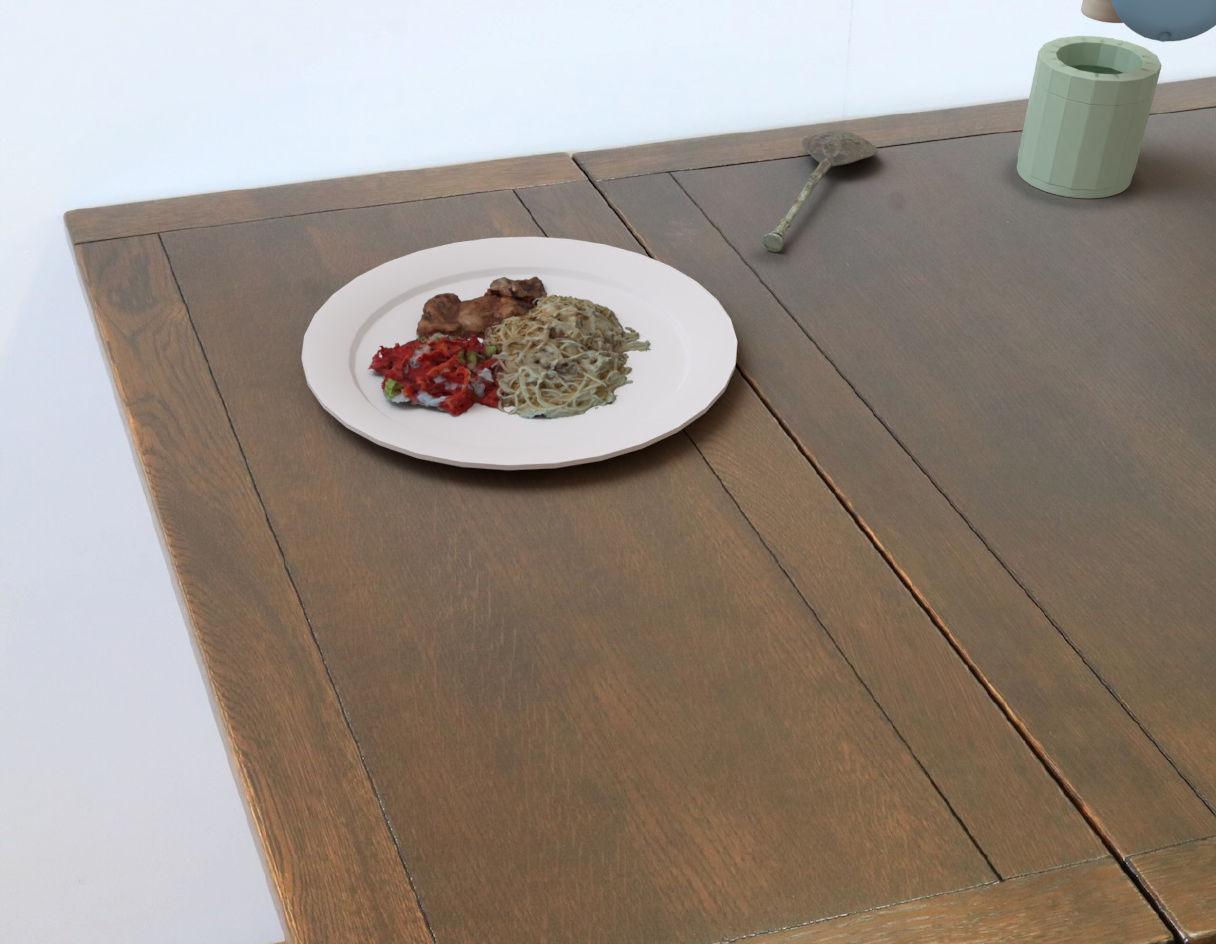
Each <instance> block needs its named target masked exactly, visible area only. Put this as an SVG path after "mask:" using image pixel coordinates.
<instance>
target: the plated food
mask: <svg viewBox="0 0 1216 944" xmlns="http://www.w3.org/2000/svg"><path fill="white" fill-rule="evenodd" d="M737 351H738V339H737V334H736V332H735V328H734V325H733V322H732V319H731V318H730V315H729V314H728V313H727V311H726V310H725V309H724V307H723V305H722V304H721V302H720V301H719V300H718V299H717V298H716V297H715V296H714V295H713V294H711V293H710V292H709V291H708V290H707V289H706V288H705V287H704V286H703V285H701V284H700V283H699V282H698V281H697V280H695V279H693V278H691V277H690V276H688V275H686V274H685V273H683V272H681V271H679V270H678V269H676V268H674V267H673V266H672V265H669V264H667V263H663V262H661V261H658V260H656V259H655V258H651V257H649V256H646V255H643V254H641V253H639V252H636V251H631V250H627V249H623V248H620V247H616V246H613V245H608V244H604V243H598V242H591V241H586V240H579V239H574V238H573V239H572V238H561V237H546V236H545V237H543V236H510V237H509V236H508V237H507V236H505V237H504V236H503V237H488V238H480V239H473V240H466V241H458V242H452V243H447V244H444V245H439V246H435V247H430V248H425V249H421V250H418V251H415V252H412V253H408V254H407V255H403V256H401V257H398V258H394V259H392V260H389V261H385V262H384V263H382V264H380V265H378V266H376V267H374V268H372V269H370V270H368V271H366V272H364V273H362V274H360V275H358V276H356V277H355V278H354V279H352V280H351V281H349V282H348V283H347V284H345V285H344V286H343V287H341V288H340V289H338V290H337V291H336V292H334V293H333V294H332V295H331V296H330V297H329V298H328V299H327V300H326V301H325V302H324V303H323V305H322V306H321V307H320V308H319V309H318V310H317V311H316V312H315V314H314V315H313V317H312V319H311V321H310V323H309V325H308V327H307V329H306V331H305V333H304V335H303V340H302V350H301V364H302V367H303V372H304V376H305V379H306V384H307V386H308V388H309V389H310V391H311V392H312V394H313V396H314V397H315V399H317V401H318V402H319V404H320V405H321V407H322V408H323V409H324V411H326V412H327V413H329V414H330V415H331V416H332V417H333V418H335V419H336V420H337V421H338V422H339V423H340V424H341V425H343V426H344V427H345V428H346V429H348V430H349V431H351V432H354V433H355V434H357V435H359V436H361V437H363V438H365V439H367V440H368V441H370V442H372V443H374V444H376V445H377V446H380V447H384V448H387V449H389V450H392V451H395V452H398V453H401V454H404V455H406V456H410V457H413V458H416V459H420V460H424V461H429V462H433V463H434V462H435V463H439V464H443V465H450V466H455V467H460V468H472V469H473V468H474V469H486V470H501V471H519V470H540V469H543V470H544V469H559V468H564V467H565V468H566V467H570V466H571V467H572V466H577V465H583V464H589V463H595V462H601V461H604V460H609V459H611V458H614V457H618V456H622V455H626V454H628V453H631V452H635V451H639V450H642V449H644V448H646V447H649V446H651V445H653V444H656V443H658V442H659V441H661V440H664V439H666V438H668V437H670V436H673V435H674V434H676V433H679V432H680V431H682V430H683V429H684V428H686V427H687V426H689V425H690V424H692V423H693V422H694V421H696V420H697V419H699V418H700V417H701V416H703V415H704V414H706V413H707V411H709V409H710V408H711V407H712V406H713V405H714V404H715V402H717V400H718V399H719V398H720V397H721V396H722V395H723V394H724V393H725V391H726V389H727V387H728V385H729V383H730V381H731V378H732V377H733V374H734V372H735V370H736V363H737Z"/></svg>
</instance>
